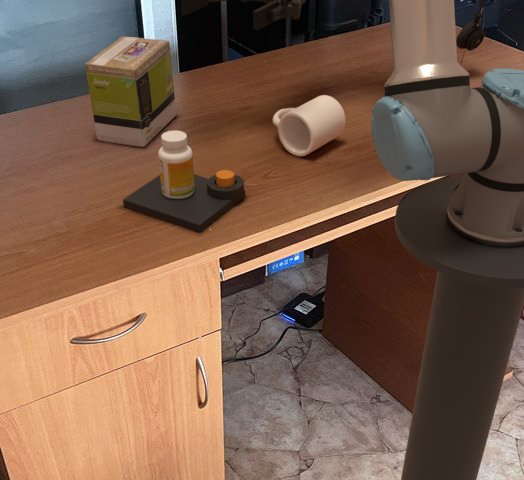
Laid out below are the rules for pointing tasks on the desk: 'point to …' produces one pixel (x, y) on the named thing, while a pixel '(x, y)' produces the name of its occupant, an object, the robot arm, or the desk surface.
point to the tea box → (131, 90)
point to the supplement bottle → (176, 165)
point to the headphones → (471, 33)
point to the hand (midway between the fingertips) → (218, 13)
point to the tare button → (225, 178)
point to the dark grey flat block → (187, 202)
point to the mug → (310, 125)
